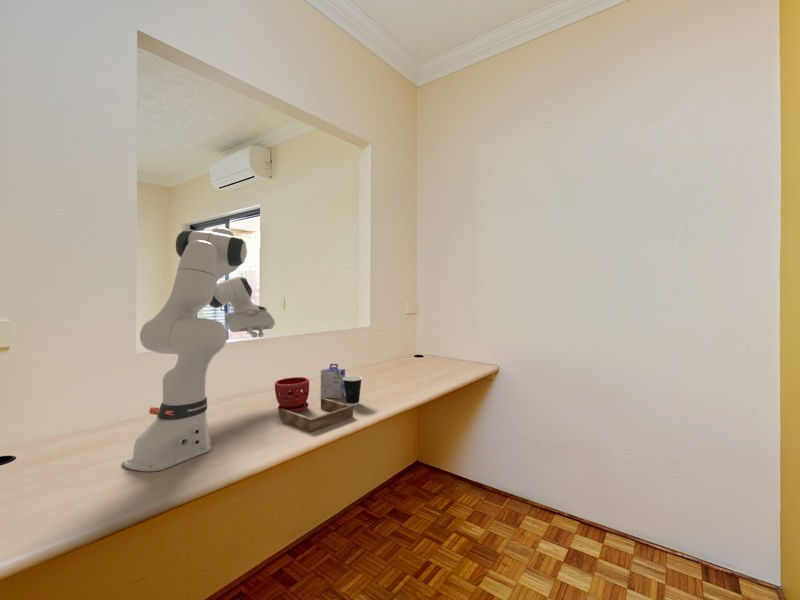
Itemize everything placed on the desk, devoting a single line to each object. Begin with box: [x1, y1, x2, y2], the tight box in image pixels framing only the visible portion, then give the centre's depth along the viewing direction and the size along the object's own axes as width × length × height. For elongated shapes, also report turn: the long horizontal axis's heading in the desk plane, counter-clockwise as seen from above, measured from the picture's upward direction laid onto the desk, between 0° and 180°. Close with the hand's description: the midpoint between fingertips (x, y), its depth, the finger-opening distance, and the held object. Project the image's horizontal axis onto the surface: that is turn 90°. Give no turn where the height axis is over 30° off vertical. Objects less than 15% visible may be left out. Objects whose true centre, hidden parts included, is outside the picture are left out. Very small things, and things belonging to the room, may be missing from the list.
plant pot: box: [274, 376, 310, 414], centre depth 146 cm, size 13×13×12 cm
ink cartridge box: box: [319, 363, 346, 400], centre depth 164 cm, size 10×6×14 cm, turn 78°
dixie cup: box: [343, 375, 363, 407], centre depth 154 cm, size 8×8×11 cm
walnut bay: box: [280, 397, 354, 433], centre depth 136 cm, size 17×19×4 cm
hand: (258, 336), depth 160 cm, fingers closed
